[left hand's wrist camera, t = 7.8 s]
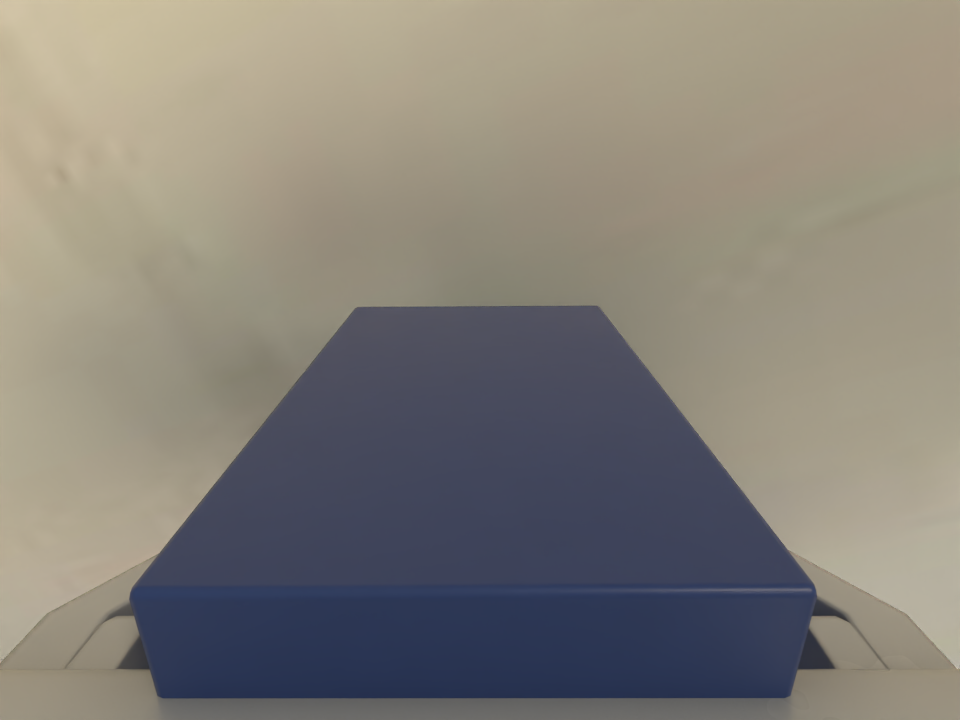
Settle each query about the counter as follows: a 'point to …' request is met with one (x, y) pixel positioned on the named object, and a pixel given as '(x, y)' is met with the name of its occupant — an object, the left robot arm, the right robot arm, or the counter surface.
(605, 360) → the box
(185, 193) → the counter surface
